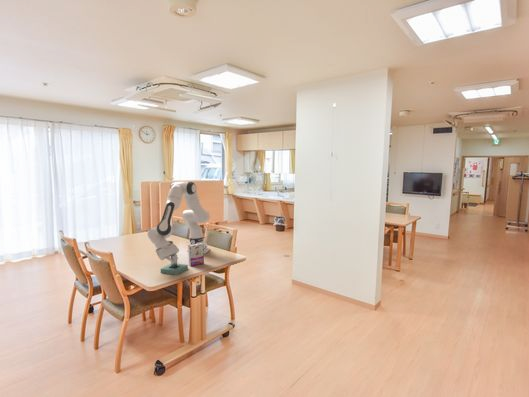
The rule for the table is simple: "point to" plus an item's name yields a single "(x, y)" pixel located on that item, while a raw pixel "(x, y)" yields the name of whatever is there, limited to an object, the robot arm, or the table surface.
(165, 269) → the block
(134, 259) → the table surface
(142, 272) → the table surface
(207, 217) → the robot arm
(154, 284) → the table surface
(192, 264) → the candy bar box
